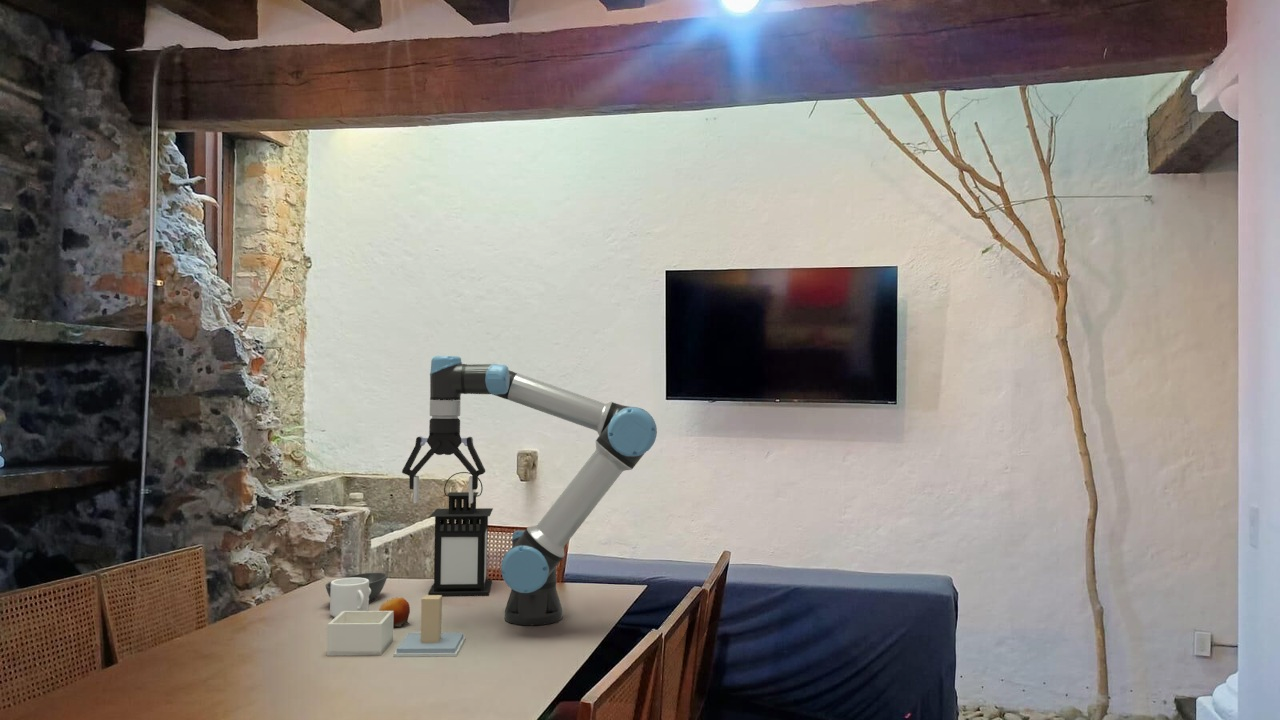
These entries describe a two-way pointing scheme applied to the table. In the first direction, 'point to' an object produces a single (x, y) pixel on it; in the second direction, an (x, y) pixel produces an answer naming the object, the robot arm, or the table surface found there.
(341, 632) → the white open storage bin
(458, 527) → the lantern
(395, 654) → the mat
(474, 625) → the table surface
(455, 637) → the lid
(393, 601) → the fruit
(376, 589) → the bowl
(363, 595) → the mug
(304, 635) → the table surface
